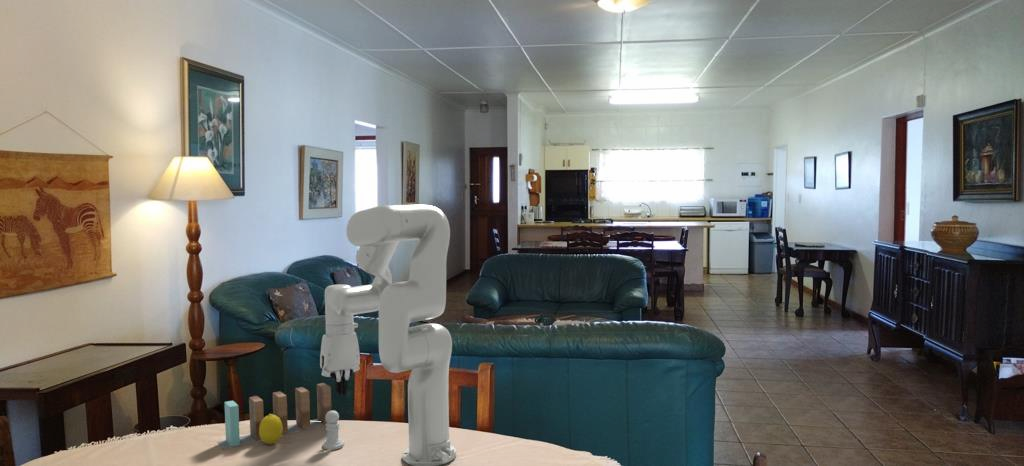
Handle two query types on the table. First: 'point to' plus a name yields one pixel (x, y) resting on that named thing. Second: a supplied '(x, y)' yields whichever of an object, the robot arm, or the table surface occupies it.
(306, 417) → the domino
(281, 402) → the domino
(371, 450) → the table surface
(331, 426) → the chess piece
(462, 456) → the table surface
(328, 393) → the domino
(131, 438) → the table surface
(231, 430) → the domino end
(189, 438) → the table surface
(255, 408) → the domino
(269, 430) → the lemon
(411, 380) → the robot arm
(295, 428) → the grey flat board
